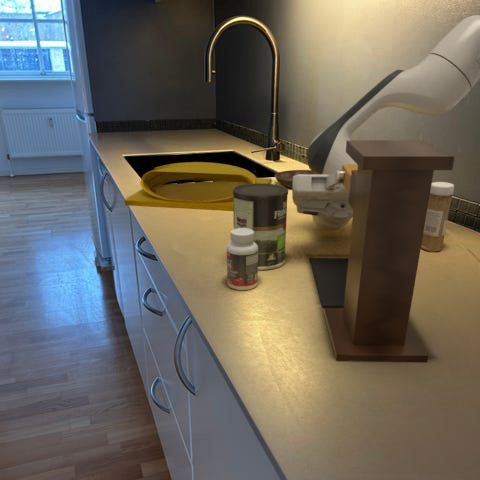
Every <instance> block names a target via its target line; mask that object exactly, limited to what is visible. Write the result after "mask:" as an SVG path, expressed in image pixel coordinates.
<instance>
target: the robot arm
mask: <svg viewBox="0 0 480 480" xmlns="http://www.w3.org/2000/svg"><path fill="white" fill-rule="evenodd" d="M479 80H480V14H473V15H469V16H467V17H465V18H464V19H462V20H461V21H460V22H458V23H457V24H456V25H455V26H454V27H453V28H452V29H451V30H449V32H448V33H446V35H445V36H444V37H442V39H441V40H440V41H438V43H437V44H436V45H435V46H434V47H433V49H432V50H431V51H430V52H429V53H427V56H426V57H425V58H424V59H423V60H422V61H420V62H419V63H418V64H416V65H415V66H413V67H411V68H409V69H406V70H404V69H396V70H394V71H393V72H391V73H390V74H388V75H386V76H385V77H383V79H382V80H380V81H379V82H378V83H377V84H376V85H375V86H373V87H372V88H371V89H370V90H369V91H368V92H366V94H364V95H363V96H362V97H361V98H360V99H359V100H358V101H357V102H355V104H354V105H352V106H351V107H350V108H349V109H348V110H346V112H345V113H343V114H342V115H341V116H340V117H339V118H338V119H337V120H336V121H334V122H333V123H332V124H331V125H330V126H328V127H327V128H326V129H325V130H323V131H321V132H320V133H319V134H318V135H317V136H315V137H314V138H313V140H311V142H310V144H309V146H308V148H306V149H307V150H306V161H307V166H308V168H309V169H308V170H312V171H314V172H315V173H316V174H298V175H294V176H293V182H292V188H291V190H292V191H291V192H292V194H291V195H292V197H291V198H292V202H293V204H294V205H295V206H296V212H297V213H298V214H301V215H310V216H311V217H312V221H313V222H314V225H315V226H316V227H317V228H318V229H319V230H321V231H324V232H328V233H334V232H337V231H339V230H341V229H343V228H344V227H345V226H346V225H348V224H349V222H350V221H352V219H353V209H352V208H351V206H350V204H349V193H348V192H347V190H346V189H345V187H344V185H343V184H342V183H344V181H345V171H342V165H357V164H356V163H355V161H354V160H353V159H352V158H351V157H350V156H349V155H348V154H347V153H346V142H347V140H353V139H352V134H353V133H354V132H356V131H357V130H358V129H359V128H360V127H361V126H362V125H364V123H366V122H367V121H368V120H369V119H370V118H371V117H373V115H374V114H376V113H377V112H378V111H380V110H382V109H385V108H398V109H402V110H406V111H408V112H409V111H410V112H412V113H416V114H420V115H424V116H425V115H428V116H435V115H441V114H444V113H447V112H449V111H451V110H452V109H453V108H454V107H455V106H456V105H457V104H459V102H461V101H462V100H463V99H464V98H465V97H466V96H467V94H468V93H469V92H470V91H471V90H472V89H473V88H474V86H475V85H476V84H477V82H478V81H479Z"/></svg>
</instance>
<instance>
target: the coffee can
mask: <svg viewBox="0 0 480 480" xmlns="http://www.w3.org/2000/svg"><path fill="white" fill-rule="evenodd" d="M288 195H289V188H288V187H285V186H282V185H281V184H280V185H279V184H274V183H271V184H265V183H256V184H250V183H245V184H241V185H237V186H235V187H233V188H232V196H233V212H232V213H233V229H237V228H248V229H251V230H253V231H254V241H253V242H255V243H256V244H257V245H258V271H268V270H274V269H277V268H281V267H282V266H284V264H285V263H286V241H287V240H286V238H287V217H288V214H287V213H288Z"/></svg>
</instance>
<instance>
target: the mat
mask: <svg viewBox="0 0 480 480" xmlns="http://www.w3.org/2000/svg"><path fill="white" fill-rule="evenodd" d="M348 259H349V257H309V263H310V266H311V270H312V274H313V278H314V281H315V285H316V289H317V294H318V297H319V302H320V304H321V308H322V309H324V308H344V298H345V288H346V279H347V269H348Z"/></svg>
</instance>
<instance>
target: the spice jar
mask: <svg viewBox="0 0 480 480" xmlns="http://www.w3.org/2000/svg"><path fill="white" fill-rule="evenodd" d="M454 192H455V184H454V183H451V182H447V181H434V182H433V181H432V184H431V190H430V196H429V202H428V208H427V214H426V220H425V226H424V232H423V238H422V244H421V249H422V250H423V251H427V252H441V251H442V250H443V249H444V241H445V236H446V232H447V226H448V219H449V212H450V208H451V200H452V197H453V194H454Z"/></svg>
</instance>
